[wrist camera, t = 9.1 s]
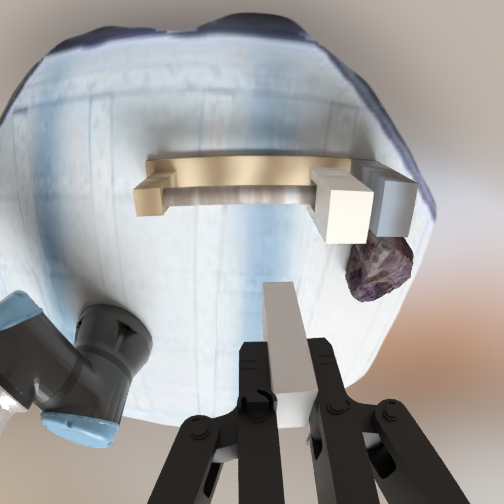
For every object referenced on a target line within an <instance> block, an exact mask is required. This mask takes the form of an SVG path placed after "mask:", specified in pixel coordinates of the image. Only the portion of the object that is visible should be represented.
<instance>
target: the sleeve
mask: <svg viewBox="0 0 504 504" xmlns="http://www.w3.org/2000/svg"><path fill="white" fill-rule="evenodd" d="M308 185H311V186H317V190H316V203H315V204H307V210H308V212H309V214H310V216H311V218H312V219H313V221H314V223H315V225H316V227H317V229H318V231H319V232H320V234H321V236H322V238H323V240H324V242H325V244H366V240H367V234H368V229H369V223H370V216H371V210H372V203H373V196H374V192H373V191H372V190H371V189H369V188H368V187H367V186H366V185H364V184H363V183H362V182H360V181H359V180H358V179H356V178H355V177H354V176H352V175H351V174H350V173H348V172H347V171H345V170H344V169H340V168H320V167H309V181H308Z"/></svg>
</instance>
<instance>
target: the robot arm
mask: <svg viewBox="0 0 504 504" xmlns="http://www.w3.org/2000/svg"><path fill="white" fill-rule="evenodd" d="M262 325H263V338H264V342H244V343H243V345H242V347H241V349H240V350H239V397H238V401H237V406H236V407H235V409H234V410H233V411H231V412H230V413H228V414H226V415H223V416H220V417H216V418H210V417H207V416H205V415H195V416H191V417H189V418H188V419H186V420H185V421H184V422H183V424H182V425H181V427H180V429H179V432H178V434H177V436H176V438H175V441H174V443H173V446H172V448H171V450H170V452H169V455H168V457H167V459H166V462H165V464H164V466H163V468H162V471H161V473H160V475H159V478H158V480H157V482H156V484H155V487H154V489H153V491H152V494H151V496H150V498H149V500H148V503H147V504H210V503H211V499H212V497H213V494H214V491H215V488H216V485H217V481H218V479H219V476H220V473H221V470H222V467H223V463H224V462H226V461H230V460H233V459H236V458H238V481H239V504H285V501H284V490H283V478H282V467H281V457H280V446H279V435H278V428H290V427H301V426H307V425H308V422H309V423H310V433H309V436H308V439H307V444H306V445H309V444H310V448H311V454H312V461H313V467H314V475H315V482H316V489H317V496H318V504H380V502H379V498H378V493H377V489H376V485H375V480H376V482H377V484H378V486H379V488H380V489H381V491H382V493H383V495H384V496H385V498H386V500H387V502H388V504H470V503H469V501H468V500H467V498H466V497H465V495H464V493H463V492H462V490H461V489H460V487H459V485H458V484H457V482H456V481H455V479H454V478H453V476H452V475H451V473H450V472H449V470H448V469H447V467H446V465H445V464H444V462H443V461H442V459H441V458H440V457H439V455H438V454H437V452H436V451H435V449H434V448H433V446H432V445H431V443H430V442H429V440H428V439H427V437H426V436H425V434H424V433H423V432H422V430H421V429H420V427H419V426H418V424H417V423H416V421H415V420H414V418H413V417H412V416H411V414H410V413H409V411H408V410H407V408H406V407H405V406H404V405H403V404H402V403H401V402H400V401H397V400H395V399H387V400H383V401H381V402H380V403H379V404H378V405H370V404H362V403H358V402H356V401H354V400H352V399H351V398H350V397H349V396H348V395H347V393H346V391H345V388H344V385H343V382H342V378H341V375H340V371H339V368H338V365H337V361H336V358H335V356H334V351H333V348H332V345H331V344H330V343H329V342H328V341H327V340H326V338H325V337H324V338H310V339H307V338H306V334H305V330H304V325H303V321H302V317H301V313H300V309H299V305H298V301H297V296H296V292H295V288H294V284H293V282H267V283H263V315H262ZM151 350H152V339H151V336H150V334H149V332H148V330H147V329H146V328H145V326H144V325H143V324H142V323H141V322H140V321H139V320H138V319H137V318H135V317H134V316H133V315H131V314H130V313H128V312H126V311H125V310H122V309H120V308H118V307H115V306H111V305H106V304H97V305H92V306H90V307H88V308H86V309H85V310H84V312H83V313H82V315H81V316H80V318H79V320H78V322H77V327H76V334H75V341H74V346H73V345H72V344H71V343H70V342H69V341H68V340H67V339H66V338H65V337H64V335H63V334H62V333H61V332H60V331H59V330H58V329H57V328H56V327H55V325H54V324H53V323H52V322H51V321H50V320H49V319H48V317H47V316H46V315H45V314H44V313H43V310H42V308H39V307H38V306H37V304H36V303H35V302H34V301H33V300H32V299H31V298H30V296H29V295H28V294H27V293H25V292H24V291H21V290H17V291H14V292H12V293H11V294H9V295H8V296H7V297H5V298H4V299H3V300H2V301H0V435H1V433H2V431H3V429H4V428H5V426H6V424H7V422H8V421H9V419H10V417H11V416H12V414H13V413H16V412H27V411H28V409H29V408H30V406H31V404H32V403H34V404H35V405H37V406H38V407H39V408H40V409H41V410H42V411H43V412H42V413H41V422H42V424H44V425H45V427H46V428H48V429H49V430H50V431H52V432H53V433H55V434H57V435H59V436H61V437H63V438H65V439H67V440H69V441H72V442H75V443H78V444H81V445H84V446H88V447H94V448H105V447H108V446H110V445H111V444H112V443H113V441H114V439H115V436H116V433H117V430H118V429H119V427H120V421H121V417H122V413H123V410H124V406H125V402H126V399H127V395H128V392H129V388H130V385H131V382H132V379H133V378H134V376H135V375H136V374H137V373H138V372H139V370H140V369H141V368H142V367H143V365H144V364H145V363H146V362H147V361H148V359H149V356H150V353H151ZM374 479H375V480H374Z"/></svg>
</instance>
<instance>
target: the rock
mask: <svg viewBox="0 0 504 504" xmlns="http://www.w3.org/2000/svg"><path fill="white" fill-rule="evenodd" d="M350 254H351V255H350V264H349V265H348V266H347V269H346V275H345V277H346V280H347V283H348V287H349V289H350V292H351V295H352V296H353V297H354V298H355V299H357V300H358V301H360V302H364V301H374V300H376V299H378V298H380V297H382V296H383V295H385V294H386V293H390V292H391V291H392V290H394V289H396V288H399V287H400V286H401V285H402V284H403V283H404V282H405V281H407V280H408V279H409V278H411V270H412V266H413V261H412V260H413V257H414V256H413V252H412V250H411V248H410V246H409V245H408V243H407V242H406V240H405V239H404V237H376V236H375V235H374V233H373V232H372V231H371V230H370V229H368V234H367V240H366V244H354V246H353V248H352V250H351V252H350Z"/></svg>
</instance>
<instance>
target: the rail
mask: <svg viewBox="0 0 504 504" xmlns="http://www.w3.org/2000/svg"><path fill="white" fill-rule="evenodd" d="M309 167H320V168H340V169H344V170H345V171H347V172H348V173H350V174H351V175H352V176H354V177H355V178H356V179H358V180H359V181H360V182H362V183H363V184H364V185H366V186H367V187H368V188H369V189H371V190H372V191H373V192H374V196H373V203H372V210H371V216H370V223H369V229H370V230H371V231H372V232H373V233H374V235H375V236H376V237H408V234H409V229H410V225H411V220H412V215H413V210H414V205H415V199H416V194H417V188H418V183H416V182H414V181H413V180H411V179H409V178H407V177H405V176H404V175H402V174H400V173H398V172H396V171H395V170H393V169H391V168H389V167H387V166H385V165H383V164H381V163H380V162H378V161H373V160H362V159H350V158H335V157H317V156H290V155H231V156H203V157H185V158H170V159H158V160H147V161H146V171H147V178H146V179H145V180H144V181H143V182H142V183H140V184H139V185H138V186H137V187H136V188H134V189H133V194H134V201H135V208H136V214H137V217H139V216H161V215H164V213H165V212H166V210H167V209H168V207H169V206H191V205H226V204H315V203H316V190H317V186H311V185H308V181H309Z"/></svg>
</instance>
